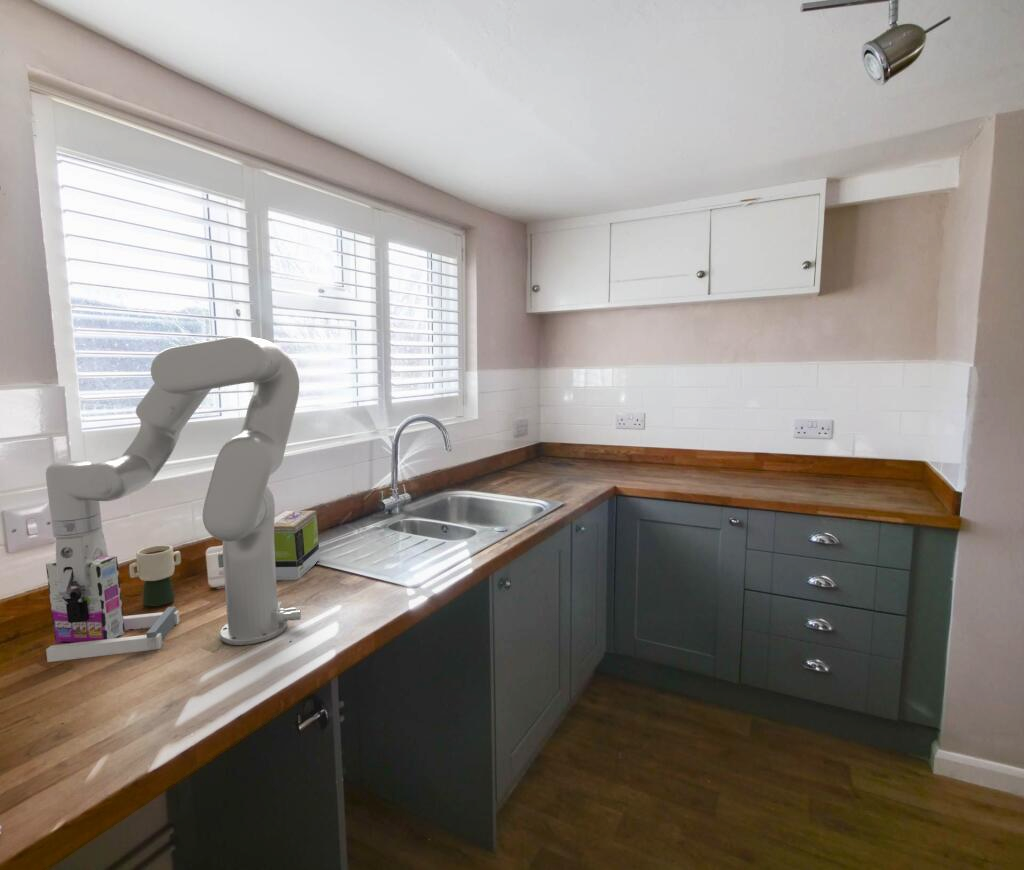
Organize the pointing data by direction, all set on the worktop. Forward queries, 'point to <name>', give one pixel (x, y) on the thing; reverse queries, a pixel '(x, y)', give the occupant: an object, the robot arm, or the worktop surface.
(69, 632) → the candy bar box
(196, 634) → the worktop surface
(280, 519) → the tea box
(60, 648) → the channel
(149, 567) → the character mug
